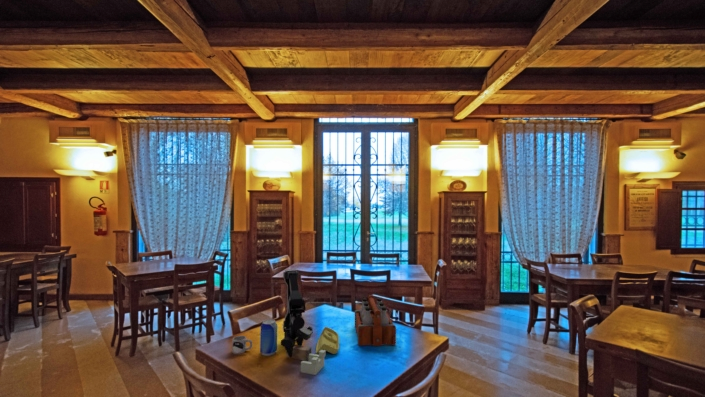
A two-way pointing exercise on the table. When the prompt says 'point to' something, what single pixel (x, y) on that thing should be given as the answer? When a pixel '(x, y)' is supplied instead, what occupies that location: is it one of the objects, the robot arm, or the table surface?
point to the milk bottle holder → (374, 324)
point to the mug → (240, 344)
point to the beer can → (268, 337)
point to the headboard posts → (313, 363)
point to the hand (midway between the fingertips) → (295, 353)
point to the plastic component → (328, 341)
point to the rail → (300, 352)
